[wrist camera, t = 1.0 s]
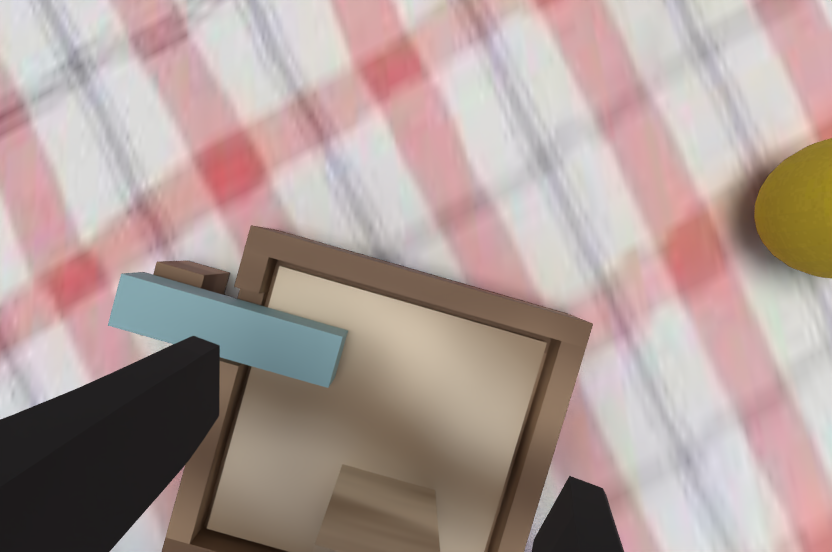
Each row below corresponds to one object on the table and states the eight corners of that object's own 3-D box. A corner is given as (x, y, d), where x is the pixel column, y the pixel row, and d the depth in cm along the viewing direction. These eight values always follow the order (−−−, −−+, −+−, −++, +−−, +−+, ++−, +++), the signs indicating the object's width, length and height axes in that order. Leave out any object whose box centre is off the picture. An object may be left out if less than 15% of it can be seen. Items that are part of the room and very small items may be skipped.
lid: (467, 592, 23) (489, 732, 16) (212, 521, 22) (127, 633, 16) (543, 340, 22) (597, 377, 16) (283, 265, 22) (226, 270, 15)
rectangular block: (334, 377, 21) (328, 387, 20) (131, 319, 21) (107, 325, 19) (348, 330, 21) (342, 337, 19) (143, 272, 21) (121, 273, 19)
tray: (481, 595, 25) (492, 653, 21) (124, 495, 25) (74, 537, 21) (566, 313, 24) (593, 323, 21) (201, 208, 24) (164, 200, 20)
